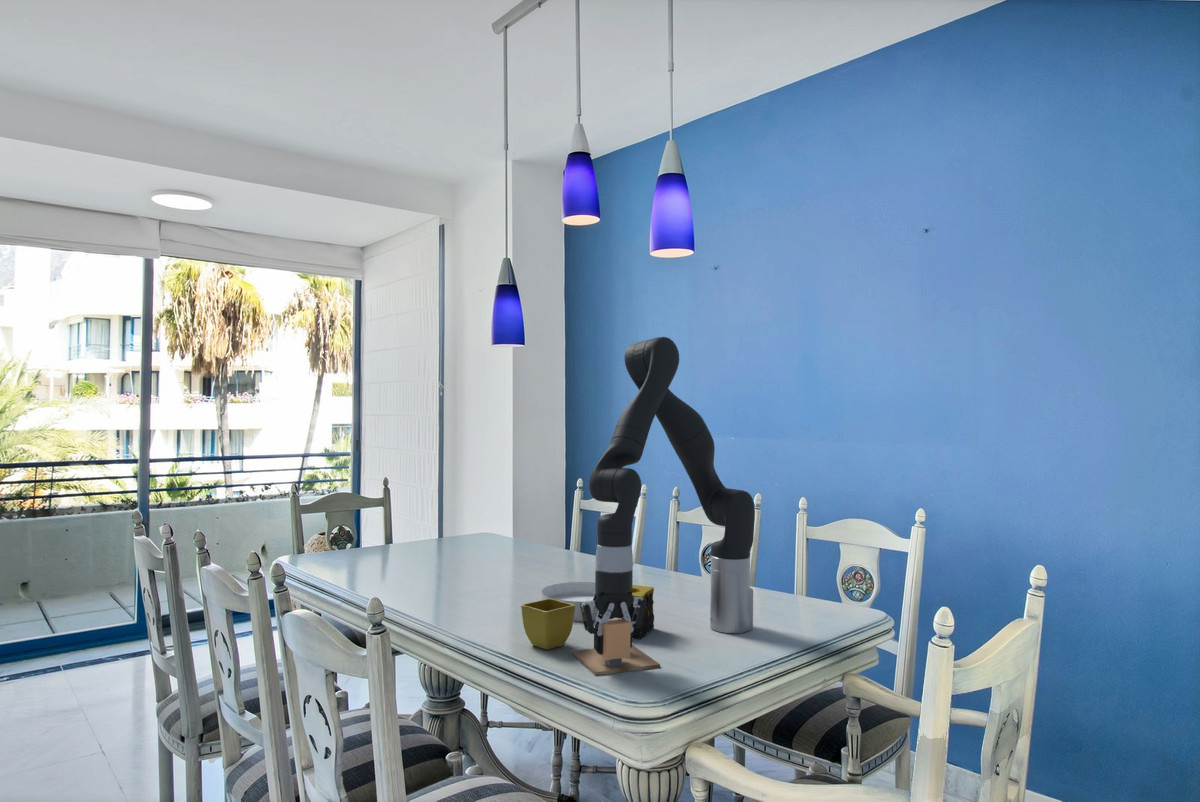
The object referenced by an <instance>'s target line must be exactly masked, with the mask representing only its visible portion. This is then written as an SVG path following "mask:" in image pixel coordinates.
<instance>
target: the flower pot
mask: <svg viewBox="0 0 1200 802" xmlns="http://www.w3.org/2000/svg"><path fill="white" fill-rule="evenodd" d="M520 608H521V615H522V616H521V617H522V623H523V628H524V629H523V630H524V633H525V635H526V636H527V638H528V640H529V642H530V644H531V645H532V646H535V647H538V648H541V649H543V650H551V649H554V648H557V647H562V646H564V645H565V644H566V642H567V640H568V638H569V637H570V634H571V633H572V629H573V625H574V621H573V619H574V611H575V605H574V604H570V603H566V602H562V601H558V600H555V599H550V598H549V599H544V600H541V599H540V600H536V601H531V602H526V603H523V604H520Z"/></svg>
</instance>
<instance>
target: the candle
mask: <svg viewBox="0 0 1200 802" xmlns="http://www.w3.org/2000/svg"><path fill="white" fill-rule="evenodd" d="M654 590H655V587H653V586H647V585H640V584H639V585H638V584H637V585H636V584H632V594H633V596H634V597H641V598H643V599H645V600H646V601H647V603H646V608H645V612H644V617H643V622H642V626H641V628H640V629H638V628H637V629H635V630H634V631H633V633H632V639H635V640H642V639H643V638H645V636H646V635H647V634H648V633H650V631H652V630H653V629H654V628H655V624H654V622H655V614H654V603H655V601H654V592H655V591H654ZM634 608H635V607H634V606H633V604H632V605H631V607H630V608H629V610H628V612H629V615H630V618H631V622H632V617H633V613H634Z"/></svg>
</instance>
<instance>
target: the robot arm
mask: <svg viewBox="0 0 1200 802" xmlns="http://www.w3.org/2000/svg"><path fill="white" fill-rule="evenodd" d="M623 358H624V366H625V367H626V368H625V369H626V371H627V373H628V375H629V376H630V378H631V381H632V382H633V383H634V385H635V386H636V388H637V389H638V392H637V393H636V394H635V395H634V397H633V398H632V399H631V401H630V402H629V403H628V405H627V406H626V407H625V408H624V410H623V411H622V413H621V415H620V416H619V417H618V420H617V422H616V424H615V427H614V431H613V434H612V436H611V437H612V438H611V440H610V444H609V446H608V447H607V449H606V450H605V451H604V453H603V454H602V456H601V458H600V459H599V461H598V462H597V463H596V465H595V467H594V468H593V470H592V471H591V473H590V476H589V480H588V490H589V493H590V495H591V497H592V498H593V500H595V501H598V502H602V503H603V502H604V503H616V504H617V507H616V509H615V512H612V513H606V514H602V515H600V516H599V517H598V519H597V522H596V523H597V524H596V525H597V527H596V550H595V562H594V563H595V565H594V566H595V573H594V575H595V577H594V578H595V579H594V582H595V596H594V598H593V600H592V601H589V602H581V603H580V608H581V613H582V618H583V621H582V622H583V628H584V630H585V631H586V632H588V633H589V634H591V635H592V634H593V648H594V649H595V650H596V651H597V653H598V654H599V655H601V654H603V636H602V634H603V631H604V624H608V621H609V619H613V618H621V619H622V620H624V621H625V622H630V623H631V632H630V648H632V645H633V638H632V633H633V631H634V630H635V629H637V628H638V629H640V628H641V626H642V622H643V617H644V612H645V608H646V603H647V601H646V600H645V599H643V598H641V597H634V596H633V594H632V585H634V584H633V582H634V581H633V571H634V555H633V546H632V544H633V522H634V518H635V514H636V510H637V507H638V503H639V499H640V496H641V493H642V492H641V491H642V480H641V477H640V475H639V473H638V471H636V470H635V469H634V468H630V467H626V466H631V465H634V464H637V463H639V462H640V461H641V458H642V456H643V453H644V451H645V446H646V443H647V440H648V436H649V433H650V430H651V426H652V424H653V422H654V419H655V417H656V418H657V419H658V422H659V423H660V425H661V427H662V428H663V431H664V432H665V433H664V434H666V437H667V439H668V441H669V443H670V445H671V447H672V448H673V450H674V451H675V454H676V455H677V458H678V459H679V460H680V462H681V465H682V466H683V468H684V470H685V472H686V474H687V476H688V478H689V479H690V482H691V483H692V486H693V488H694V490H695V493H696V495H697V498H698V500H699V503H700V504H701V507H702V511H703V512H704V515H705V516H706V518H707V519H708V520H709V521H710V522H711V523H712V524H714V525H716V526H719V527H724V532H723V533H724V534H723V535H724V536H723V538H722V539H720V540H716V541H714V542H713V543H711V546H710V611H709V614H710V619H709V622H710V625H709V627H710V629H711V630H713V631H716V632H720V633H725V634H741V633H742V634H743V633H746V632H748V631H751V630H753V629H754V589H753V588H751V577H750V576H751V550H752V546H753V544H754V538H755V535H754V534H755V520H756V519H755V517H756V506H755V502H754V498H753V497H752V495H751V494H750V493H749V491H746V490H742V489H735V488H728V487H726V486H725V485H724V483H723V482H722V481H721V479H720V478H719V475H718V473H717V472H716V469H715V441H714V439H713V436H712V434H711V432H710V429H709V428H708V425H707V424H706V421H704V418H703V416H702V415H701V414H700V413H698V411H696V410H695V409H694V408H693V407H692V406H691V405H690V404H687V403H686V402H685V401H683V400H682V399H681V398H680V397H678V396H677V395H675V394H674V393H673V392H672V391H671V390H670V388H669V387H670V385H671V384H672V382H673V380H674V379H675V376H676V373H677V372H678V368H679V365H680V353H679V348H678V347H677V345H676V343H675V342H674V340H672V339H671V338H670V337H667V336H659V337H653V338H650V339H646V340H642V341H639V342H635V343H632V344H630V345H629V346H628V347H626V349H625V350H624V357H623ZM632 604H633V606H634V607H635V608H634V613H633V617H632V622H631V618H630V615H629V612H628V610H629V608H630V607H631V605H632ZM594 606H595V607H596V608H597V609H598V613H597V616H596V621H593V620H592V615H591V613H592V612H593V607H594Z"/></svg>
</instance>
